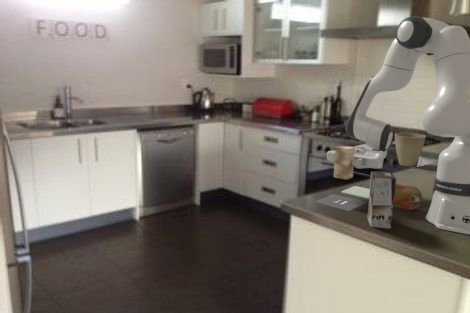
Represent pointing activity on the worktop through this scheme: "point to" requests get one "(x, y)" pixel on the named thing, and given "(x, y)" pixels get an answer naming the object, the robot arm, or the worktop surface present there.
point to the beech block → (343, 162)
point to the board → (357, 192)
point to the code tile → (340, 202)
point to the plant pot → (409, 147)
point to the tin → (407, 197)
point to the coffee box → (381, 199)
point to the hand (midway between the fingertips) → (343, 161)
